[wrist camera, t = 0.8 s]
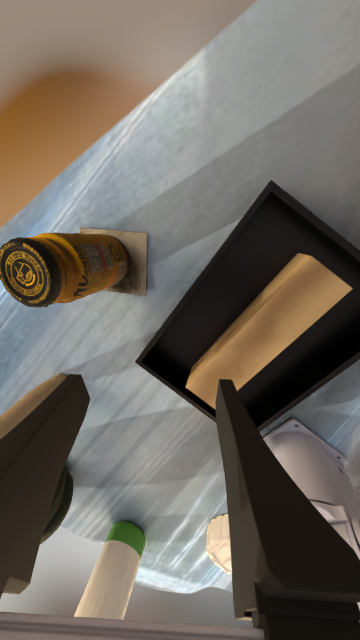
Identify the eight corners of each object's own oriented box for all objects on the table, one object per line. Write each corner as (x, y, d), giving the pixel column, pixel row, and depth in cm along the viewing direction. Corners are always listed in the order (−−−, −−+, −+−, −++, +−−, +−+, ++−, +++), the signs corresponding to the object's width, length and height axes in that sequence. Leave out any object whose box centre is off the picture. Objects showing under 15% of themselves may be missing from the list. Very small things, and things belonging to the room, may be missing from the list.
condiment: (80, 227, 27) (-26, 221, 16) (147, 232, 25) (80, 229, 14) (86, 287, 29) (-2, 317, 19) (146, 295, 28) (89, 333, 17)
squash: (-7, 446, 38) (-80, 561, 31) (74, 480, 37) (15, 605, 31) (35, 439, 51) (-11, 520, 44) (95, 464, 50) (57, 550, 43)
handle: (62, 359, 35) (-50, 439, 21) (85, 391, 36) (-5, 486, 22) (43, 369, 37) (-72, 449, 23) (66, 400, 38) (-29, 492, 24)
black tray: (403, 297, 22) (431, 307, 19) (242, 423, 31) (243, 443, 28) (265, 188, 21) (271, 179, 18) (144, 349, 31) (134, 362, 28)
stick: (331, 279, 22) (353, 288, 18) (218, 386, 30) (215, 410, 26) (297, 252, 22) (311, 255, 18) (192, 366, 30) (185, 387, 26)
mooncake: (253, 565, 42) (254, 593, 39) (196, 532, 42) (193, 557, 39) (292, 538, 37) (298, 567, 34) (228, 502, 38) (227, 527, 34)
